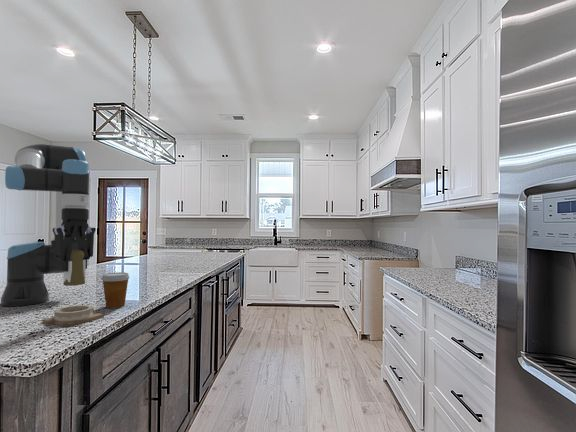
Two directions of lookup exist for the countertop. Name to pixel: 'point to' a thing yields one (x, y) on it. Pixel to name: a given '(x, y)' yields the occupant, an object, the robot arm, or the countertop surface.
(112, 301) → the disposable coffee cup
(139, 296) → the countertop surface
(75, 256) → the olive knobbed peg
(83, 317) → the collar base
